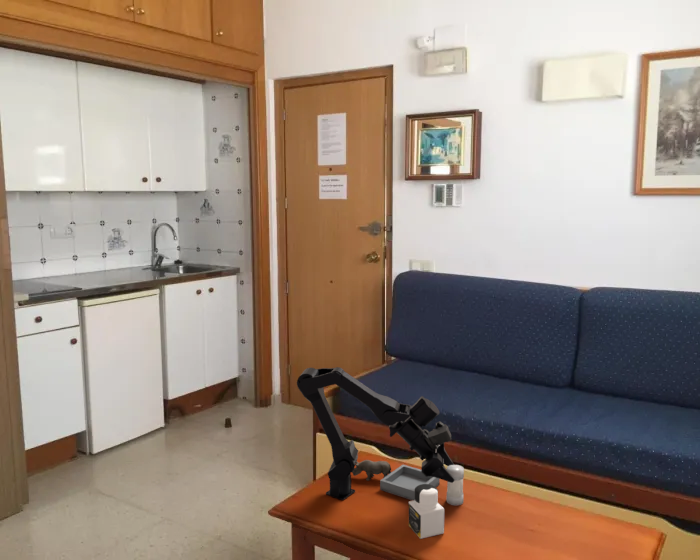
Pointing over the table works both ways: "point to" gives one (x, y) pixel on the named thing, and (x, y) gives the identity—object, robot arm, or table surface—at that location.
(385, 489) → the parts tray
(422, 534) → the medicine bottle
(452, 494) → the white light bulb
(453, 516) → the table surface
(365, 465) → the rhino figurine
